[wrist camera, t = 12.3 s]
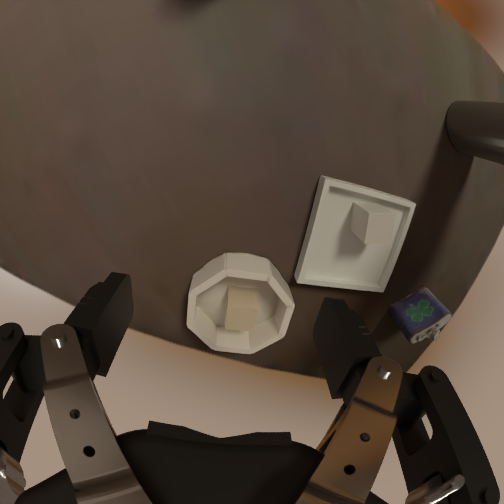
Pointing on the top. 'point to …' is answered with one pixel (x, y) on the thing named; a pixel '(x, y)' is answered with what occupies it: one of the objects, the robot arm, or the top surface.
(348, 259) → the tray
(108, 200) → the top surface
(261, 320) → the bowl
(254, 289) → the cream wooden brick
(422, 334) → the flask
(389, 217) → the pebble grey
